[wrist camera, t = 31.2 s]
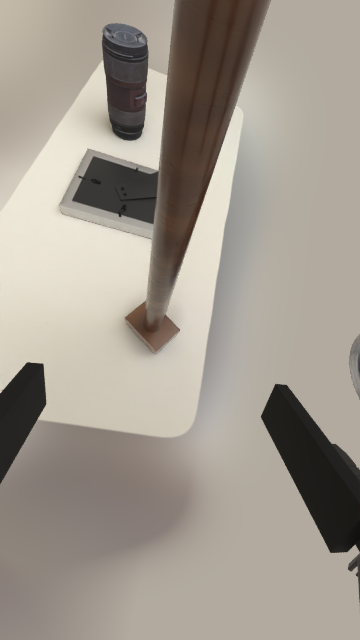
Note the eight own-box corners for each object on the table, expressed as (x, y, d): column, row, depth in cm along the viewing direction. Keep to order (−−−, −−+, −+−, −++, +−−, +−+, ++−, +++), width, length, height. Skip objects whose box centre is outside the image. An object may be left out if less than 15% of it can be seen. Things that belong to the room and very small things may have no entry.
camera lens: (139, 119, 55) (142, 24, 41) (148, 142, 53) (154, 50, 39) (105, 118, 53) (96, 17, 39) (113, 142, 51) (106, 45, 37)
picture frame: (184, 188, 50) (89, 158, 48) (187, 176, 48) (87, 144, 45) (171, 244, 44) (62, 214, 42) (173, 234, 42) (57, 201, 39)
